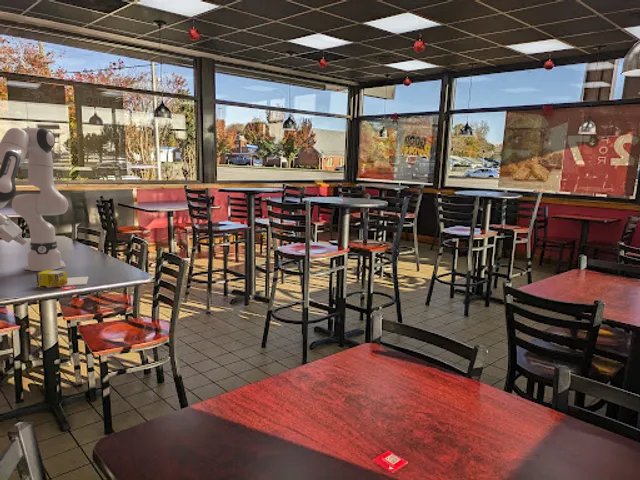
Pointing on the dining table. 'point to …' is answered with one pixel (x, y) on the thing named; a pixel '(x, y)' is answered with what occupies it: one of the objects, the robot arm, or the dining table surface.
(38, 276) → the supplement box
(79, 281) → the mat
